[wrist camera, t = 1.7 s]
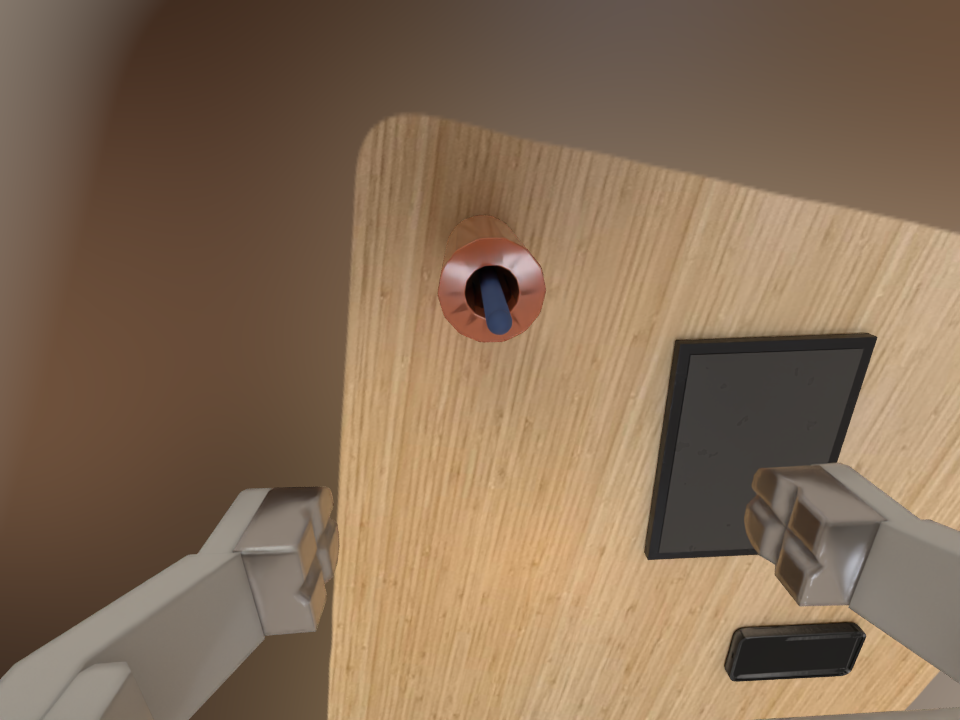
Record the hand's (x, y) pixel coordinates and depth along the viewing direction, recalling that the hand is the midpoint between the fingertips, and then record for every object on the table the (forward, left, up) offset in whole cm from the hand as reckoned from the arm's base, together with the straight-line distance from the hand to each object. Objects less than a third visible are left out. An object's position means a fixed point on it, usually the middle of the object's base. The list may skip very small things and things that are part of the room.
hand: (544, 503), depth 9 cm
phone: (+48, +36, -30) cm, 67 cm away
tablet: (+20, +25, -30) cm, 44 cm away
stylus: (0, 0, -20) cm, 20 cm away
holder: (0, 0, -30) cm, 30 cm away
